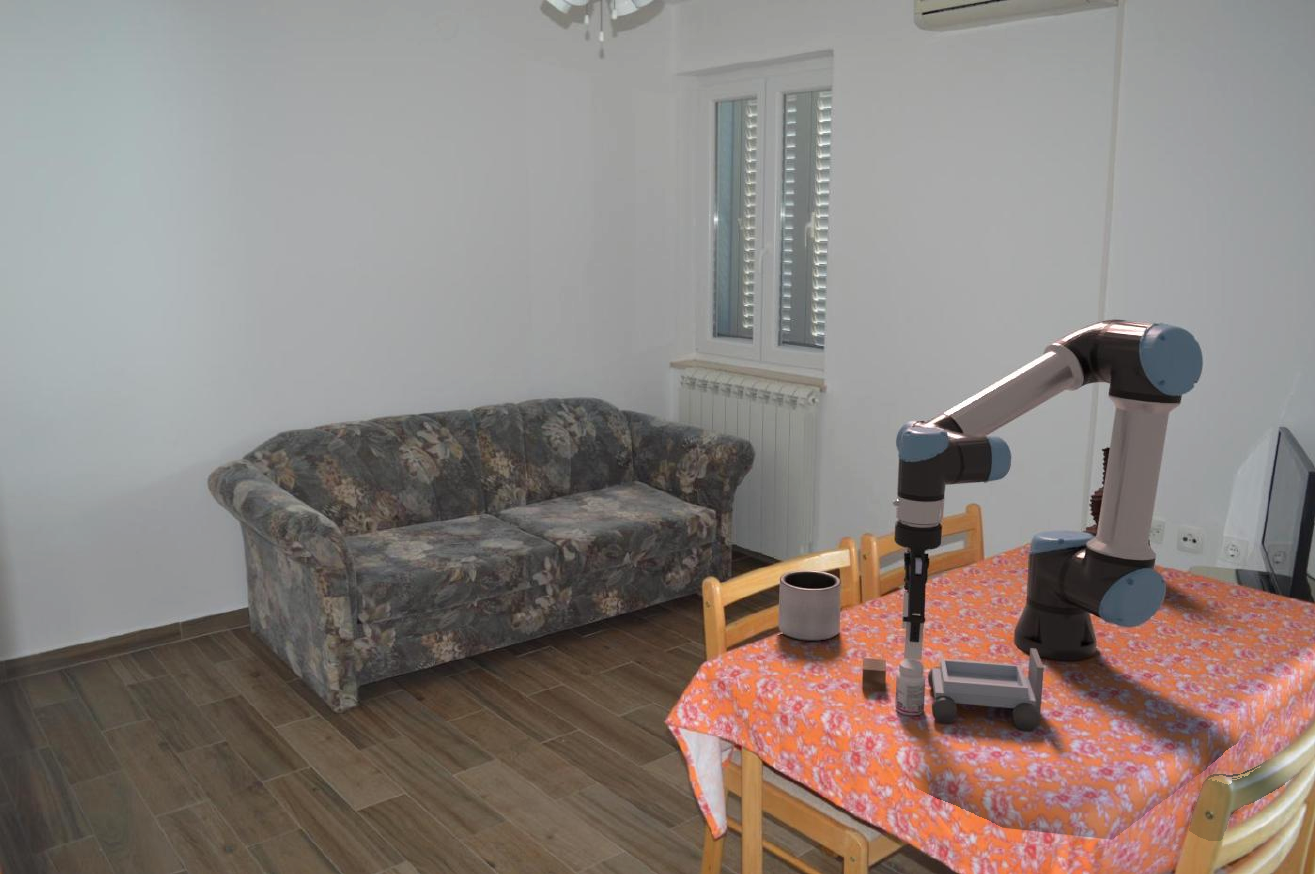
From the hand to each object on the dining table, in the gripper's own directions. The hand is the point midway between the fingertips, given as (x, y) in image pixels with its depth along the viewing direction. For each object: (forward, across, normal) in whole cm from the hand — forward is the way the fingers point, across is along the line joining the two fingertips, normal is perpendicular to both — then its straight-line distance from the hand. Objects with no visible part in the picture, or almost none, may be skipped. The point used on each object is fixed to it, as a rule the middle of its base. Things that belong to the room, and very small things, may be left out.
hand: (911, 642), depth 172 cm
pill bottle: (+12, 0, 0) cm, 13 cm away
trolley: (+12, -3, +12) cm, 18 cm away
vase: (+11, -83, +50) cm, 98 cm away
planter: (+12, -32, -19) cm, 39 cm away
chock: (+12, -9, -6) cm, 16 cm away
